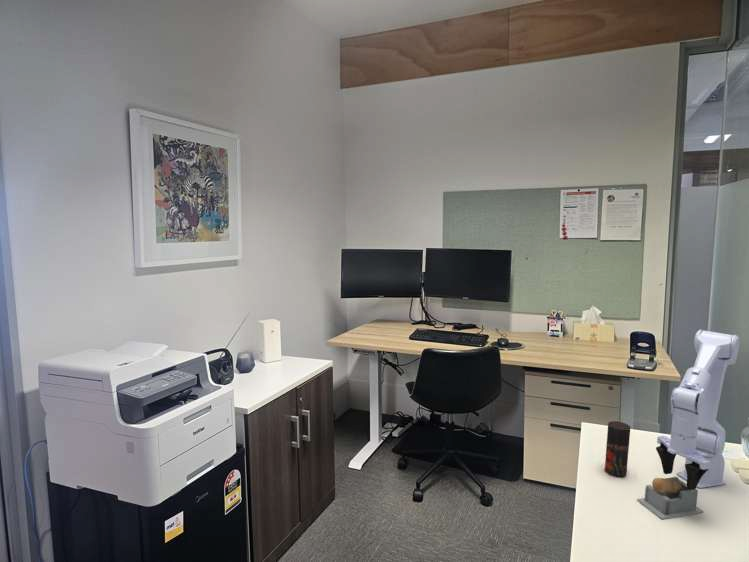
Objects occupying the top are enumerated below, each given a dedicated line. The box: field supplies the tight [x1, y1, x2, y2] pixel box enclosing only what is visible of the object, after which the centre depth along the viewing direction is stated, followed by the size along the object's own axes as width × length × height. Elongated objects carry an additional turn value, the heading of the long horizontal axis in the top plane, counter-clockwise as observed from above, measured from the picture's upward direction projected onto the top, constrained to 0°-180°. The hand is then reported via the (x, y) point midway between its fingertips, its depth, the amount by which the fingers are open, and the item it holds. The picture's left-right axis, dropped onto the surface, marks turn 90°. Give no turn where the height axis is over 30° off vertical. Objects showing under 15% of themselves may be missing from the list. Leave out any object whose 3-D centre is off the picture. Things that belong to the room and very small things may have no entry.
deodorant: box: [604, 420, 631, 479], centre depth 145 cm, size 6×6×15 cm
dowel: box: [651, 477, 682, 494], centre depth 128 cm, size 4×4×6 cm
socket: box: [636, 476, 704, 520], centre depth 129 cm, size 13×8×6 cm, turn 103°
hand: (679, 480), depth 129 cm, fingers open, 7 cm apart
